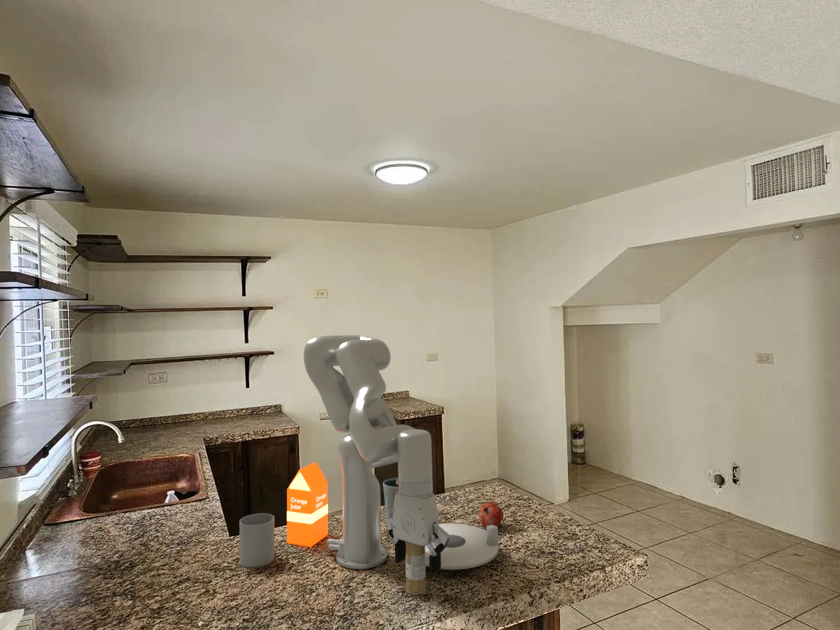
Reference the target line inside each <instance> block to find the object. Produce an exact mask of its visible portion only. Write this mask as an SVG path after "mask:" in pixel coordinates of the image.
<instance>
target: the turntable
mask: <svg viewBox="0 0 840 630" xmlns="http://www.w3.org/2000/svg"><path fill="white" fill-rule="evenodd" d="M439 526H440V527H441V528H442V529H443V530H445V531H446V532H447V533H448V534H449V535H450V540H449V542H448V544H447V547H446V548H445V549H444V550H443V552H441V570H463V569H464V570H465V569H466V570H467V569H473V568H476V567H480V566H484V565H486V564H488V563H490V562H492V561H493V560H494V559H495V558H496V557H497V556H498V554H499V530H498V529H499V527H497V526H494V525H489V526H487V527H485V528H486V529H484V528H481V527H477V526H474V525H470V524H463V523H448V522H447V523H439ZM438 540H439V542H440V541H441V538H440V537H439V538H438ZM432 544H433V546H434V548H436V547H435V545H434V543H432ZM430 555H431V552H430V551H429V549H428V547H427V545H426V546H425V567H427V568H429V556H430Z"/></svg>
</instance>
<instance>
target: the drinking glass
mask: <svg viewBox="0 0 840 630" xmlns="http://www.w3.org/2000/svg"><path fill="white" fill-rule="evenodd" d="M397 479H398V477H393V478H388V479H385V480H384V481H383V483H382V487H383V495H384V496H383V497H384V510H385V522H386V521H387V520H389V519H391V518H393V508H394V500H395V495H396V492H398V491H399V485H398V484H396V480H397Z"/></svg>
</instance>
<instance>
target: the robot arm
mask: <svg viewBox="0 0 840 630" xmlns="http://www.w3.org/2000/svg"><path fill="white" fill-rule="evenodd" d="M390 362H391V352H390V349H389V347H388V345H387V343H385V342H384V341H383V340H380V339H377V338H373V337H369V336H363V335H355V334H354V335H353V334H352V335H351V334H350V335H347V334H346V335H345V334H343V335H339V334H338V335H335V334H334V335H321V336H316V337H313V338H311V339H309V340H308V341H307V342H306V344H305V346H304V348H303V363H304V367H305V370H306V373H307V375H308V377H309V379H310V381H311V382H312V384H313V385H314V387H315V388H316V389H317V392H318V394H319V395H320V397H321V400H322V403H323V405H324V408H325V411H326V413H327V415H328V418H329V420H330V423H331V425H332V427H333V429H334V430H335V431H336V432H338V433H342V434H346V435H345V436H343V437H342V438H341V440H340V441H339V443H338V447H337V452H338V453H337V454H338V460H339V461H338V462H339V466H340V473H341V485H342V486H341V487H342V488H341V489H342V495H341V496H342V497H341V498H342V537H340V538H339V539H336V538H328V539H327V540H326V546H327V547H328V550H329V551H337V553H336V562H337V563H338V564H339V566H342V567H344V568H346V569H352V570H367V569H372V568H375V567H377V566H380V565H381V564H383V563H385V562H386V561H387V558H388V557H387V556H388V553H387V550H386V549H385V548H384V547H383V546H382V544H381V543H382V542H381V540H382V537H381V536H382V535H381V534H382V533H381V531H382V530H381V529H382V528H381V527H382V526H381V525H382V524H381V523H382V521H381V518H382V517H381V485H380V482H379V480H378V479H377V477H376V475H375V473H374V472H373V469H376V468H379V467H384V466H388V465H392V464H395V463H397V475H398V476H397V478H398V479H397V480H396V484H398V485H399V491H398V492H396V495H395V500H394V508H393V518H391V519H389V520H387V521H386V520H385V524H386V527H387V530H388V534H389V536H390V538H391V539H392V540H391V543H392V544H393V545H394V562H395V564H399V563H401V562H403V561H406V542H409V543H413V544H416V545H420V546H426V545H427V547H428V549H429V551H430V552H431V555H430V556H429V567H428V569H429V570H428V571H429V575H431V576H433V575H435V574H437V573H438V572H440V571H441V570H442V569H441V552H443V550H444V549H445V548H446V547H447V544H448V542H449V540H450V535H449V534H448V533H447V532H446V531H445V530H443V529H442V528H441V527H440V526H439V524H440V518H439V511H438V510H439V509H438V504H437V499H436V495H435V493H433V457H432V455H433V454H432V436H431V435H432V434H431V433H430V432H429V431H427V430H426V429H425V430H424V429H420V428H419V429H416V428H414V427H412V426H409V425H407V424H397V422H396V420H395V417H394V416H393V414H392V412H391V410H390V408H389V406H388V404H387V402H386V401H385V400H384V399H383V398H382V397H383V396H384V394H385V392H386V389H387V384H386V382H385V380H384V379H383V377H382V374H381V373H380V371H383V370H385V369H387V368H388V366H389V365H390ZM335 367H339V368H340V371H341V372H340V371H339V370H337V369H336V368H335ZM439 537H440V538H441V541H440V542H439V540H438V538H439ZM432 543H434V545H435V547H436V548H434V546H433V544H432Z"/></svg>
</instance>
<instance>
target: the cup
mask: <svg viewBox="0 0 840 630" xmlns="http://www.w3.org/2000/svg"><path fill="white" fill-rule="evenodd" d="M274 560H275V515H273V514H270V513H254V514H249V515H247V516H244V517H242V518H241V519H239V565H241V566H242V567H245V568H259V567H263V566H266V565H269V564H270V563H272V562H273V561H274Z"/></svg>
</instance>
